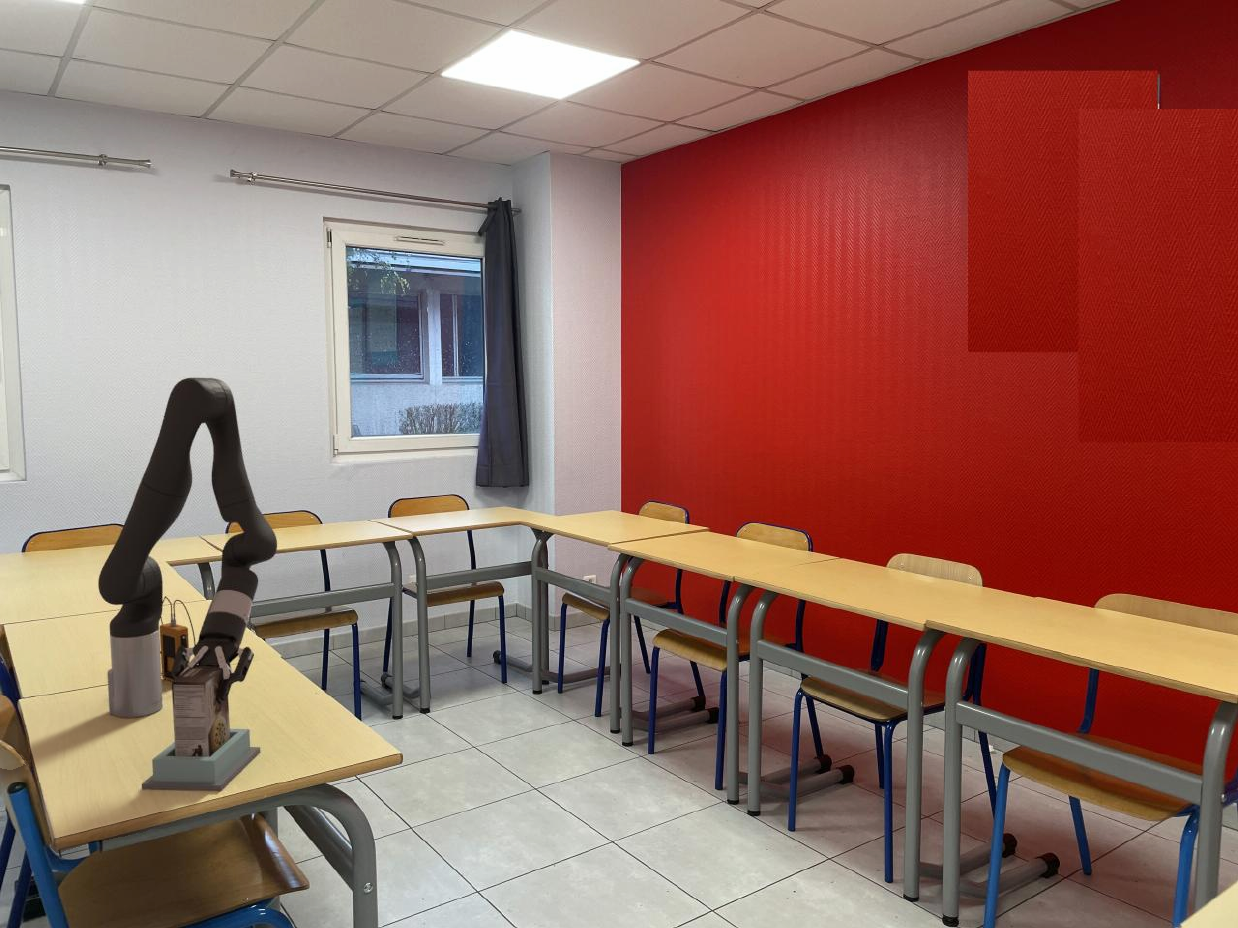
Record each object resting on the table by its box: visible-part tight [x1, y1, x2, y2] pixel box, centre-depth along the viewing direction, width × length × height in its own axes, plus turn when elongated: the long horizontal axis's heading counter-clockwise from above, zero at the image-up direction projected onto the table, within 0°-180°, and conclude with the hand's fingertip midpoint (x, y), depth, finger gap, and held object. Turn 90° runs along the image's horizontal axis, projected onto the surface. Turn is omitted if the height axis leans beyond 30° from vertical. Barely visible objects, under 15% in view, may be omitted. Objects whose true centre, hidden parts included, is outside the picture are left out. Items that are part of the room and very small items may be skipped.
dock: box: [141, 728, 261, 792], centre depth 165 cm, size 14×16×5 cm
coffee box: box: [170, 664, 231, 757], centre depth 164 cm, size 9×6×16 cm
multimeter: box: [159, 596, 197, 682], centre depth 214 cm, size 15×10×20 cm
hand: (199, 701), depth 163 cm, fingers closed on coffee box, 6 cm apart
